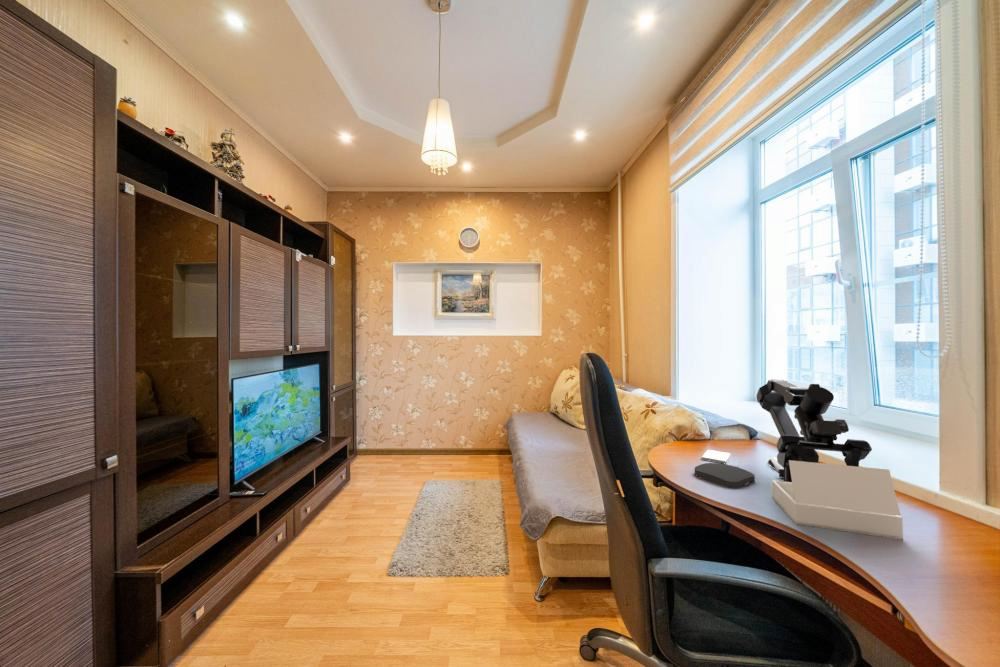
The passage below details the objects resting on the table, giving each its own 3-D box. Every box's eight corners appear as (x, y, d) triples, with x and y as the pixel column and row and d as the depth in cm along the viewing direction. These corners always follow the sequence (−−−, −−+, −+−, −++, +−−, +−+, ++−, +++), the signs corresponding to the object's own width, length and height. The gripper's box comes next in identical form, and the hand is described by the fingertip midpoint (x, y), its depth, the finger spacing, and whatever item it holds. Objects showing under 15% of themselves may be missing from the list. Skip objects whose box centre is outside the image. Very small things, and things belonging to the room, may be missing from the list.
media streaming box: (689, 475, 121) (689, 466, 121) (715, 468, 128) (714, 459, 128) (734, 491, 108) (733, 481, 108) (760, 482, 115) (759, 472, 115)
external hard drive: (701, 461, 136) (707, 453, 145) (726, 465, 131) (730, 457, 140) (701, 456, 136) (707, 449, 145) (726, 461, 131) (730, 452, 140)
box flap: (795, 502, 88) (788, 460, 92) (899, 515, 81) (888, 469, 85) (795, 502, 88) (789, 460, 91) (900, 515, 81) (889, 469, 84)
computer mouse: (788, 464, 131) (788, 454, 131) (817, 483, 113) (817, 471, 114) (757, 462, 134) (757, 451, 134) (780, 480, 116) (780, 468, 116)
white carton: (772, 497, 103) (771, 480, 103) (861, 508, 96) (860, 490, 96) (795, 524, 88) (795, 503, 88) (903, 539, 81) (902, 517, 81)
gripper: (779, 405, 99) (797, 457, 88) (866, 409, 92) (897, 466, 81) (770, 427, 106) (785, 477, 95) (850, 432, 99) (876, 487, 88)
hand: (833, 476), depth 90 cm, fingers open, 9 cm apart
